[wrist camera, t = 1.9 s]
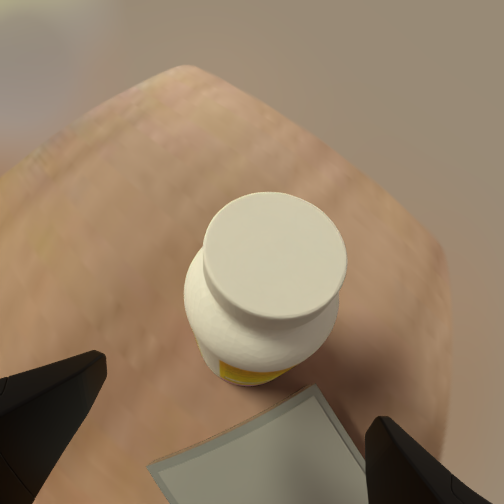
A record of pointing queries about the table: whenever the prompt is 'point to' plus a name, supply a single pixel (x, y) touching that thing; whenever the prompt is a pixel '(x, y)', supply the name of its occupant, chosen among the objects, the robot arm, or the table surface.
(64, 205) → the table surface
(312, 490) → the slate base
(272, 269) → the supplement bottle
